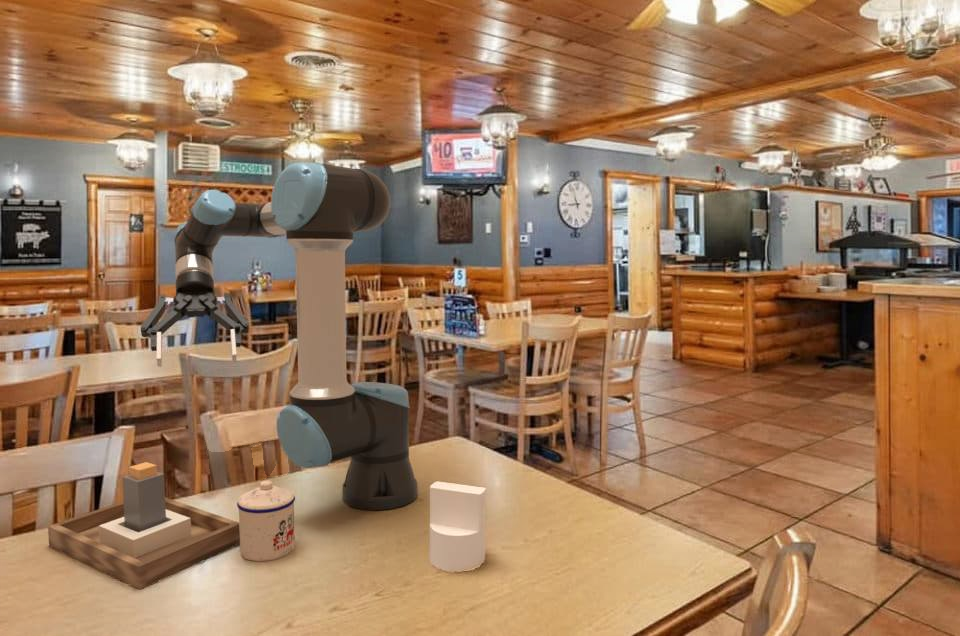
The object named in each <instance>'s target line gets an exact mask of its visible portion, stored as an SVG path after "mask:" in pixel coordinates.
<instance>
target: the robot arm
mask: <svg viewBox="0 0 960 636" xmlns="http://www.w3.org/2000/svg"><path fill="white" fill-rule="evenodd" d="M390 196H391V195H390V193H389V190H388V188H387V186H386V184H385V182H384V181H383V180H382V179H381V178H380V177H379V176H377V175H376V174H374V173H373V172H370V171H368V170H365V169H362V168H361V169H360V168H352V167H346V166H339V165H334V164H333V165H332V164H327V163H321V162H301V161H300V162H294V163H291V164H289V165H288V166H286V167H285V168H284V169H283V170H282V171H281V172H280V174H279V176H278V177H277V179H276V180H275V183H274V184H273V188H272V193H271V197H270V199H271V200H270V202H264V203H246V202H245V203H244V202H235V200H234V199H233V198H232V197H231V196H230V195H229V194H227V193H225V192H222V191H220V190H218V189H207V190H205V191H204V192H202V193H201V194H200V196H199V197H198V198H197V201H195V203H194V204H193V208H192V211H191V212H190V215H189V217H188V220H187V221H184V222H183V223H182V224H181V223H180V224H179V225H178V226H177V228H176V230H175V237H174V239H173V242H174V248H175V249H174V253H175V254H174V255H175V259H174V260H175V267H174V268H175V296H174V297H166V294H160V295H159V296H158V302H157V303H156V305H155V306H154V307H153V309H152V310H151V311H150V313H149V315H148V316H147V317H146V318H145V320H144V321H143V323H142V324H141V325H140V335H141V337H142V338H149V340H150V343H149V344H150V351H152V352H156V364H157V365H156V366H157V367H158V368H159V367H161V368H162V367H163V354H162V353H163V337H162V335H163V334H165V333H166V332H167V331H168V330H169V329H170V328H171V327H172V326H173V325H175V324H176V323H177V322H178V321H181V320H182V319H183V318H185V317H187V318H193V317H200V318H201V317H202V318H204V317H205V316H207V317H209V318H210V319H211V320H214V321H215V322H217V323H218V324H220V325H221V326H222V327H223V328H224V329H226V331H228V332H229V333H230V335H229V336H230V337H229V338H230V349H231V351H230V353H231V362H232V363H237V348H240V347H241V346H242V335H243V334H248V333H249V332H250V323H249V321H248V320H247V319H246V317H244V315H243V314H242V313H241V311H240V310H239V309H238V308H237V306H236V305H235V304H234V303H233V300H232V297H231V295H230V293H225V294H224V295H223V296H216V294H215V284H214V264H213V251H214V250H215V248H216V246H217V245H218V243H219V241H220V240H221V238H222V237H255V238H257V237H258V238H262V237H263V238H269V239H270V238H274V239H275V238H282V237H285V236H286V237H285V239H286V240H285V241H286V242H287V243H288V244H289V245H290V246H292V248H293V249H294V251H295V280H296V281H295V282H296V283H295V286H296V290H295V291H296V327H297V329H296V330H297V332H296V333H297V336H296V337H297V379H298V381H297V383H296V385H295V386H294V387H293V388H292V389H291V390H290V392H289V405H286V406H285V407H283V408H282V409H281V410H280V411H279V414H278V415H277V419H276V433H277V437H278V438H277V439H278V441H279V443H280V447H281V449H282V450H283V452H284V453H285V454H286V456H287V458H288V459H289V460H290V461H291V462H292V463H293V464H294V465H296V466H298V467H301V468H303V469H313V468H315V467H316V468H317V467H321V466H322V467H325V466H328V465H330V464H331V463H335V462H338V461H341V460H345V459H347V458H350V462H349V465H348V468H347V471H346V475H345V478H344V482H343V483H342V489H341V491H342V492H341V493H342V494H341V496H342V501H343V502H344V504H346V505H348V506H350V507H352V508H355V509H359V510H367V511H385V510H391V509H396V508H401V507H404V506H407V505H409V504H411V503H413V502H414V501H415V500H416V499H417V498H418V492H419V491H418V489H419V488H418V486H419V485H418V481H417V479H416V478H415V474H414V470H413V466H412V464H411V459H410V408H411V407H410V403H409V393H408V390H407V389H406V388H405V387H403V386H401V385H397V384H392V383H385V382H376V381H375V382H373V381H370V382H369V381H368V382H367V381H359V382H353V383H352V384H350V383H349V382H348V381H347V380H348V379H347V323H346V321H347V319H346V318H347V317H346V315H347V313H346V311H347V310H346V306H347V305H346V250H347V248H348V247H349V246H351V244H352V243H353V242H354V232H356V233H357V232H368V231H370V230H371V231H372V230H373V229H375V228H377V227H379V226H380V225H381V224H382V223H383V222H384V221H385V220H386V219H387V217H388V215H389V213H390V209H391V197H390ZM217 304H218V305H219V304H220V306H221V307H222V308H224V309H225V311H226V313H228V315H229V316H230V317H229V316H228V315H227V314H226V313H224V312H223V311H222V310H220V309H219V308H218V306H217ZM172 305H173V306H174V307H173V309H172V310H171V311H170V312H169V313H168V314H166V315H165V316H164V317H163V318H162V316H163V315H164V313H165V312H166V310H168V309H169V308H170V306H172ZM160 319H161V320H160ZM416 497H417V498H416ZM415 498H416V499H415ZM413 500H414V501H413Z"/></svg>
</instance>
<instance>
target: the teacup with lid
mask: <svg viewBox="0 0 960 636" xmlns="http://www.w3.org/2000/svg"><path fill="white" fill-rule="evenodd" d="M295 501H296V496H295V494H294V492H293V491H292V490H290V489H288V488H285V487H280V486H278V485H273V482H272V481H271V480H263V481H260V483H259V486H257V487H256V488H253V490H249V491H247V492H245V493H243V494H242V495H241V496H239V498H238V500H237V503H236V506H237V508H238V519H239V521H238V522H239V530H240V544H239V553H240V555H241V556H242V557H243V558H245V559H246V560H249V561H253V562H267V561H273V560H277V559H280V558H283V557H285V556H287V555H288V554H289V553H291V552H292V551H293V550H294V547H295V546H296V545H295V544H296V543H295V540H296V539H295V509H294V508H295V505H294V504H295V503H294V502H295Z"/></svg>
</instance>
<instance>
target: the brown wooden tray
mask: <svg viewBox="0 0 960 636" xmlns="http://www.w3.org/2000/svg"><path fill="white" fill-rule="evenodd" d="M165 509H166V510H169V511H172V512H175V513H178V514H180V515H183V516H186V517H189V518H191V535H190V536H188V537H185V538H183V539H180V540H178V541H175V542H173V543H171V544H168V545H166V546H163V547H161V548H158V549H156V550H153V551H151V552H149V553H146V554H144V555H141V556H139V557H136V558H133V557H130V556H128V555H126V554H124V553H121V552H119V551H117V550H115V549H112V548H110V547H108V546H106V545H103V544H101V543H100V542H99V525H102V524H105V523H108V522H110V521H113V520H116V519H119V518H122V517H124V500H123V501H120V502H117V503H115V504H110V505H108V506H105V507H103V508H98V509H95V510H93V511H89V512H87V513H84V514H83V513H82V514H80V515H78V516H75V517H71V518H69V519H65V520H63V521H60V522H56V523H53V524H50V525H48V526H47V533H48V534H47V535H48V547H50V548H52V549H54V550H57V551H58V552H61V553H63V554H64V555H67V556H69V557H71V558H73V559H75V560H77V561H79V562H82V563H83V564H85V565H87V566H90V567H92V568H93V569H96V570H98V571H100V572H102V573H104V574H106V575H108V576H110V577H112V578H115V579H116V580H118V581H121V582H123V583H125V584H127V585H129V586H131V587H133V588H136V589H137V590H140V591H141V590H142V589H144V588H146V587H149V586H150V585H153V584H156V583H157V581H158V582H160V581H162V580H165V579H166V578H168V576H169V577H171V576H173V575H175V574H177V573H179V572H181V571H184V570H185V569H188V568H190V567H192V566H195V565H197V564H199V563H202V562H204V561H206V560H208V559H210V558H212V557H214V556H216V555H219V554H221V553H223V552H225V551H228V550H230V549H232V548H234V547H237V546H240V530H239V521H237V520H233V519H230V518H227V517H224V516H222V515H218V514H215V513H212V512H209V511H207V510H203V509H201V508H198V507H195V506H192V505H189V504H187V503H183V502H180V501H179V500H174V499H171V498H169V497H166V496H165ZM159 580H160V581H159Z"/></svg>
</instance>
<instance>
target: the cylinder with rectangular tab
mask: <svg viewBox="0 0 960 636" xmlns="http://www.w3.org/2000/svg"><path fill="white" fill-rule="evenodd" d="M486 491H487V488H486V487H480V486H475V485H468V484H467V485H466V484H461V483H460V484H459V483H451V482H444V481H438V480H437V481H434V482H433V483H432V484H431V485H430V486H429V562H430V564H431V566H433V565H434V566H435V567H437V568H439V569H441V570H440V571H442V570H446V571H453V572H454V571H464V570H469V569H472V568H475V567H477V566H479V565H481V563H482V562H484V559H485V560H486V519H487V518H486V512H487V511H486V509H487V506H486V505H487V503H486V502H487V501H486V500H487V493H486ZM484 563H485V562H484ZM434 566H433V567H434ZM435 567H434V568H435ZM437 568H436V569H437ZM439 569H438V570H439ZM446 571H445V572H446ZM453 572H452V573H453Z"/></svg>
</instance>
